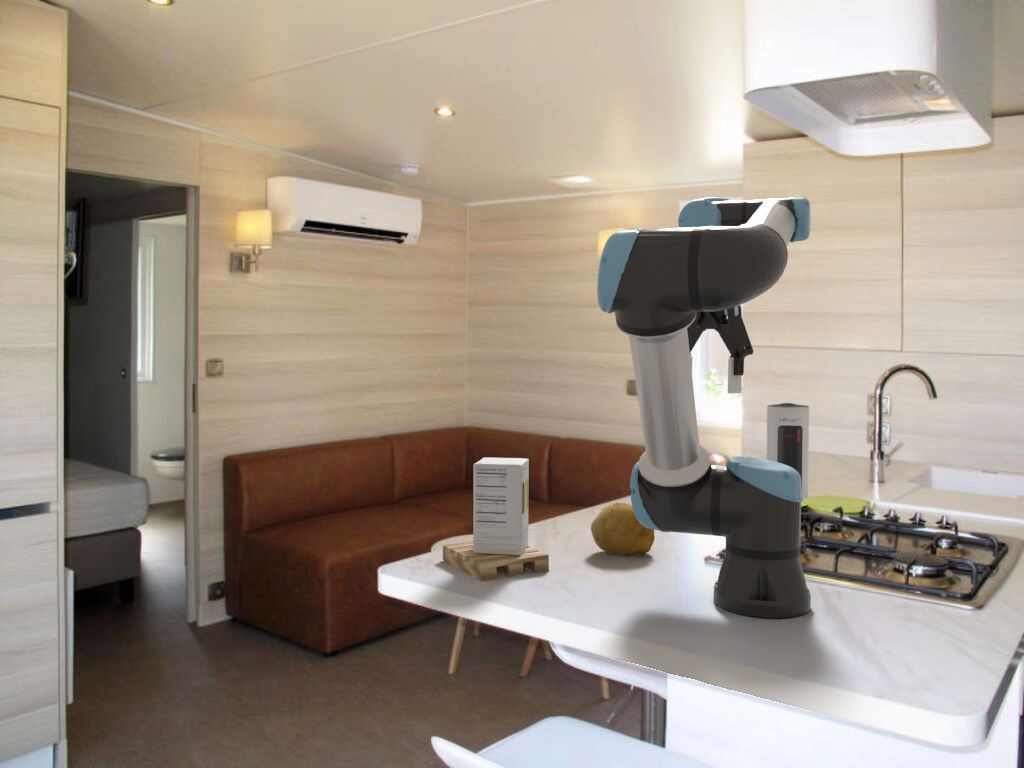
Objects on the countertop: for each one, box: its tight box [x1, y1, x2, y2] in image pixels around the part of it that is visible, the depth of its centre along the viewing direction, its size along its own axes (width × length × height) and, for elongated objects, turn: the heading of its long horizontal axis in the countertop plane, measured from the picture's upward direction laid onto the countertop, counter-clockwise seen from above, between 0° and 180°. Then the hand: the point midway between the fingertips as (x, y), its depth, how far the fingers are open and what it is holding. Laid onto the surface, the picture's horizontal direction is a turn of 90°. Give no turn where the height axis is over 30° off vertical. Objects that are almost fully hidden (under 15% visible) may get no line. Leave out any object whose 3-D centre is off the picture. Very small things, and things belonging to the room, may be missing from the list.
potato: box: [590, 502, 656, 556], centre depth 171 cm, size 10×12×10 cm
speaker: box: [766, 402, 810, 499], centre depth 220 cm, size 11×10×26 cm
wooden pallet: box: [442, 540, 550, 582], centre depth 161 cm, size 16×14×3 cm
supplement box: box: [472, 457, 530, 555], centre depth 161 cm, size 10×9×17 cm
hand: (709, 391), depth 166 cm, fingers open, 13 cm apart
